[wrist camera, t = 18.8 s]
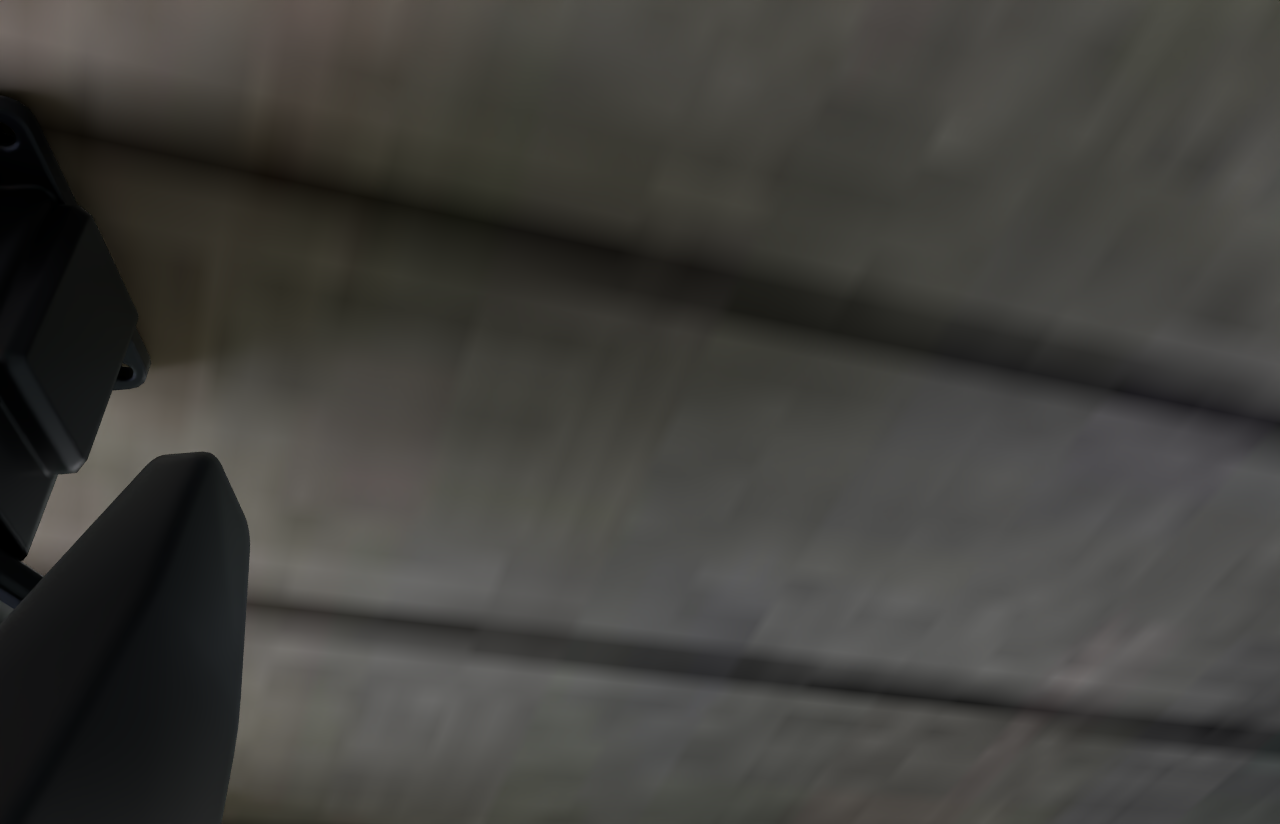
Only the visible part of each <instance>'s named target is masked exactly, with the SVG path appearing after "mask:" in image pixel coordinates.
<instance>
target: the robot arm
mask: <svg viewBox="0 0 1280 824" xmlns="http://www.w3.org/2000/svg"><path fill="white" fill-rule="evenodd" d="M0 122H3V123H5V124H6V125H8V126H10V127H11V129H12V130H13V131H14V132H15V135H10V134H5V133H3V132H1V131H0V824H221V822H222V816H223V811H224V806H225V800H226V795H227V789H228V784H229V779H230V773H231V768H232V762H233V757H234V751H235V744H236V738H237V731H238V723H239V711H240V700H241V684H242V668H243V652H244V636H245V620H246V604H247V588H248V572H249V556H250V536H249V529H248V525H247V521H246V518H245V515H244V513H243V511H242V509H241V507H240V504H239V502H238V500H237V498H236V496H235V494H234V491H233V489H232V487H231V485H230V483H229V480H228V478H227V476H226V474H225V472H224V469H223V467H222V465H221V463H220V462H219V460H218V459H217V458H216V457H215V456H214V455H213V454H211V453H208V452H193V453H181V454H169V455H162V456H159V457H157V458H155V459H154V460H152V461H151V462H150V463H149V464H147V465H146V466H145V468H144V469H143V470H142V471H141V472H140V473H139V474H138V475H137V476H136V477H135V478H134V480H133V481H132V482H131V483H130V484H129V485H128V486H127V487H126V488H125V489H124V490H123V491H122V493H121V494H120V495H119V496H118V497H117V498H116V499H115V500H114V501H113V502H112V503H111V504H110V506H109V507H108V508H107V509H106V510H105V511H104V512H103V513H102V514H101V515H100V516H99V517H98V519H97V520H96V521H95V522H94V523H93V524H92V525H91V526H90V527H89V528H88V529H87V531H86V532H85V533H84V534H83V535H82V536H81V537H80V538H79V539H78V540H77V541H76V542H75V544H74V545H73V546H72V547H71V548H70V549H69V550H68V551H67V552H66V553H65V554H64V555H63V557H62V558H61V559H60V560H59V561H58V562H57V563H56V564H55V565H54V566H53V567H52V569H51V570H50V571H49V572H48V573H47V574H46V575H45V576H43V575H41V574H39V573H38V572H36V571H35V570H33V569H32V568H30V567H29V566H27V565H26V564H24V563H23V562H21V561H22V560H24V559H25V557H26V556H27V555H28V552H29V549H30V547H31V544H32V541H33V539H34V536H35V534H36V531H37V528H38V526H39V523H40V520H41V518H42V515H43V513H44V510H45V507H46V505H47V502H48V500H49V497H50V494H51V492H52V489H53V486H54V484H55V481H56V479H57V476H58V474H68V473H77V472H78V471H79V469H80V468H81V467H82V465H83V464H84V463H85V462H86V460H87V459H88V456H89V453H90V451H91V448H92V445H93V442H94V440H95V437H96V434H97V431H98V429H99V426H100V423H101V420H102V417H103V415H104V412H105V409H106V406H107V404H108V401H109V398H110V395H111V393H112V390H123V389H131V388H136V387H139V386H140V385H141V384H143V383H144V382H145V379H146V377H147V374H148V371H149V368H150V365H151V360H150V356H149V354H148V352H147V349H146V347H145V345H144V343H143V341H142V339H141V337H140V335H139V333H138V331H137V329H136V324H137V321H138V313H137V310H136V308H135V306H134V304H133V302H132V300H131V298H130V296H129V293H128V291H127V289H126V287H125V285H124V283H123V281H122V279H121V276H120V274H119V272H118V270H117V268H116V266H115V264H114V262H113V259H112V257H111V255H110V253H109V251H108V249H107V247H106V244H105V242H104V240H103V238H102V236H101V234H100V232H99V230H98V227H97V225H96V223H95V221H94V219H93V217H92V216H91V215H90V214H89V213H88V212H87V211H85V210H84V209H83V208H82V207H81V206H78V205H77V203H76V201H75V198H74V196H73V194H72V192H71V190H70V188H69V186H68V184H67V182H66V180H65V178H64V175H63V173H62V171H61V169H60V167H59V165H58V163H57V161H56V159H55V157H54V154H53V152H52V150H51V148H50V146H49V144H48V142H47V140H46V138H45V136H44V133H43V131H42V129H41V127H40V125H39V123H38V121H37V119H36V118H35V116H34V115H33V113H32V112H31V111H30V109H28V108H27V107H26V106H24V105H23V104H22V103H20V102H19V101H17V100H14V99H12V98H9V97H7V96H0ZM122 363H124V364H126V365H128V366H130V367H123V366H121V365H122Z"/></svg>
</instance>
